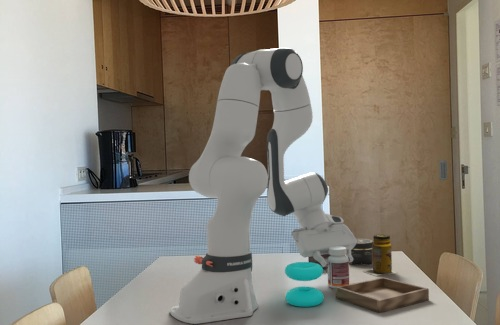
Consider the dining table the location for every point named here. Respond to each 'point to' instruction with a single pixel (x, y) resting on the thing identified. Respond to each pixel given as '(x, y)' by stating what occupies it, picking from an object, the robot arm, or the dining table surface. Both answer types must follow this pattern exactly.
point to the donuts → (304, 294)
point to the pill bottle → (338, 267)
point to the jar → (362, 252)
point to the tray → (382, 294)
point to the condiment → (381, 256)
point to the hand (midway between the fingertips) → (338, 263)
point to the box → (317, 261)
